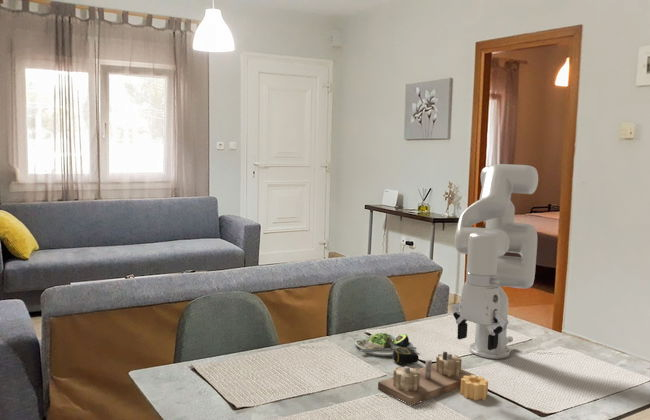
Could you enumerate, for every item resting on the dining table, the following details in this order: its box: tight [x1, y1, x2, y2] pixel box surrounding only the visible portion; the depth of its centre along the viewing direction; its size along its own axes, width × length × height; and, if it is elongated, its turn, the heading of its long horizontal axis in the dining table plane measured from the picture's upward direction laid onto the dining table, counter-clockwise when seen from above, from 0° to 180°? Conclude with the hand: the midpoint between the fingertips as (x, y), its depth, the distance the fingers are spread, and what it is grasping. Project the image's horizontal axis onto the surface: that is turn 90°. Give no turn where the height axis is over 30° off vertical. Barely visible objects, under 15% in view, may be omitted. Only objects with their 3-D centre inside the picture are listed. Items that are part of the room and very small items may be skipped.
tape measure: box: [392, 347, 420, 365], centre depth 176 cm, size 7×7×4 cm
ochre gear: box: [459, 374, 489, 401], centre depth 155 cm, size 7×7×4 cm
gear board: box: [377, 351, 475, 406], centre depth 159 cm, size 26×12×8 cm, turn 128°
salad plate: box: [354, 332, 417, 357], centre depth 187 cm, size 19×18×5 cm
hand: (476, 343), depth 153 cm, fingers open, 9 cm apart
